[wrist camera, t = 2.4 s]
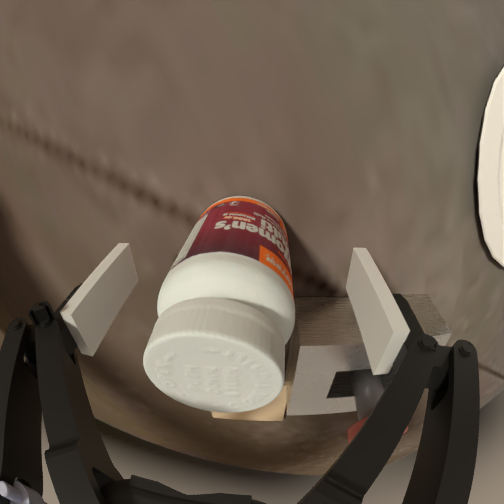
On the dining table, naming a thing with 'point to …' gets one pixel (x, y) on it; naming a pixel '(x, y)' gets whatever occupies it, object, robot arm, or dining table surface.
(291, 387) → the grey boxy piece
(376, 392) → the lever
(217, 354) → the pill bottle
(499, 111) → the plate
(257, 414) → the cork pad
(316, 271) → the dining table surface
